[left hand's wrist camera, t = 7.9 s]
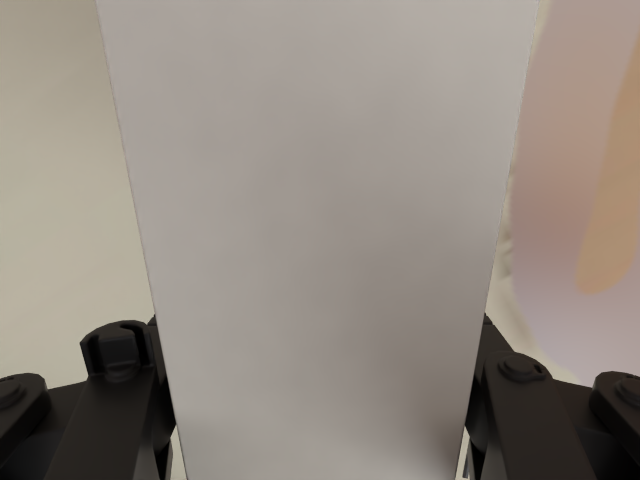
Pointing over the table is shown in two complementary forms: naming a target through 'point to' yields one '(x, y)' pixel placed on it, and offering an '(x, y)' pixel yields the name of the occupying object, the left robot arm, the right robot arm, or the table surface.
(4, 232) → the table surface
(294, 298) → the bar
